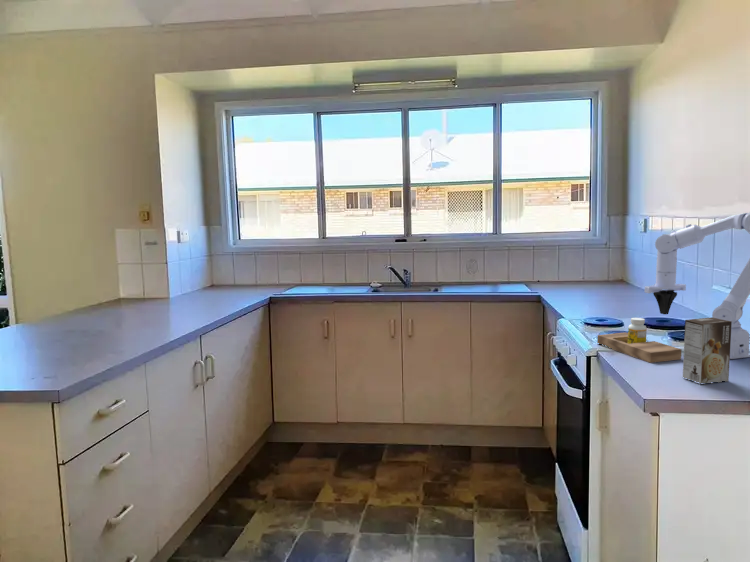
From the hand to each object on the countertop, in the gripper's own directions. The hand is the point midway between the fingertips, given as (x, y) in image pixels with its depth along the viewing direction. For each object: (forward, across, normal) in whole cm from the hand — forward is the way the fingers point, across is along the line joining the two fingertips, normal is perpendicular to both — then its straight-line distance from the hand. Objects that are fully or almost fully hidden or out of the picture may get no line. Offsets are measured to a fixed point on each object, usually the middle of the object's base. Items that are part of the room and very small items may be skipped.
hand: (664, 313), depth 190 cm
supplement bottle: (+11, +10, 0) cm, 15 cm away
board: (+10, +13, +3) cm, 17 cm away
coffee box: (+11, +17, +33) cm, 39 cm away
